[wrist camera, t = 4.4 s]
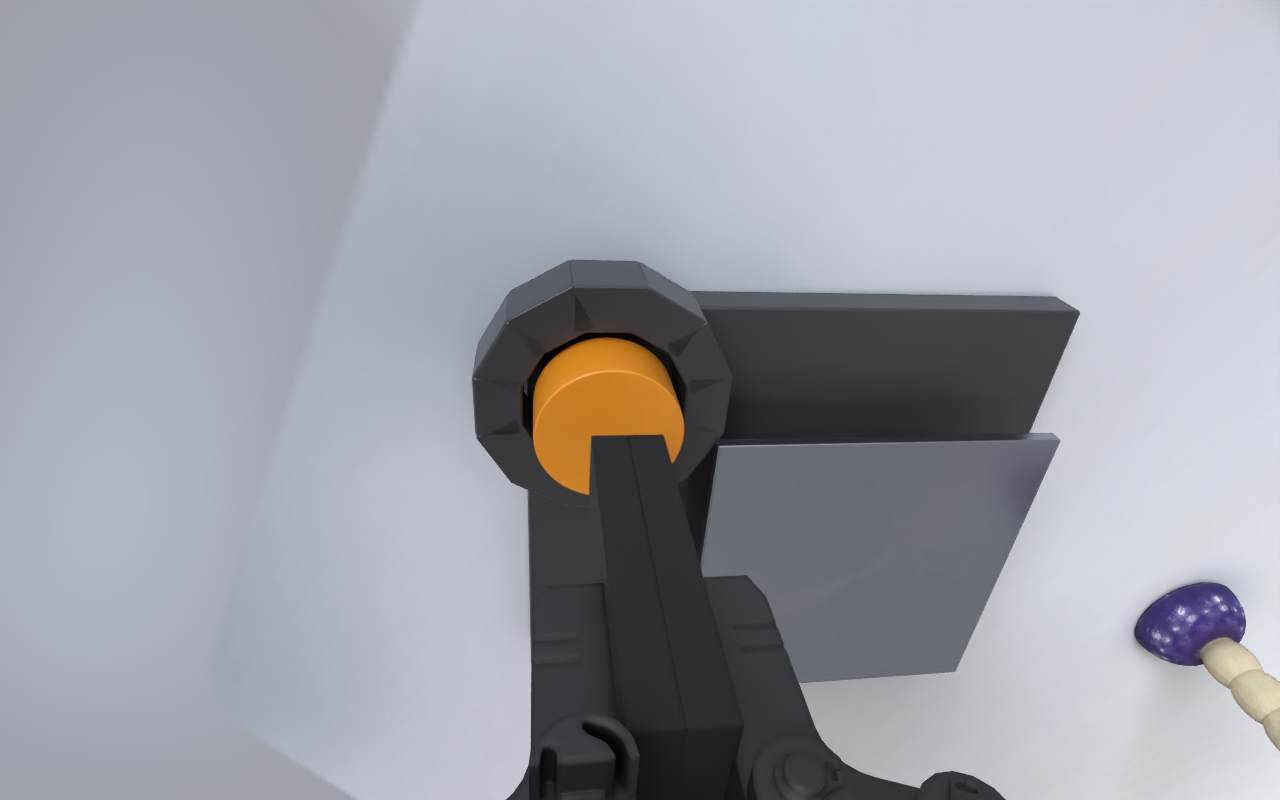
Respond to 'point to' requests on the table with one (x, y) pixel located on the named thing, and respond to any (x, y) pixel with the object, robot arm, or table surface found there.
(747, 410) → the scale
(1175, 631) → the toy lamp
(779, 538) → the pan
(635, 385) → the tare button
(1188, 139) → the table surface
